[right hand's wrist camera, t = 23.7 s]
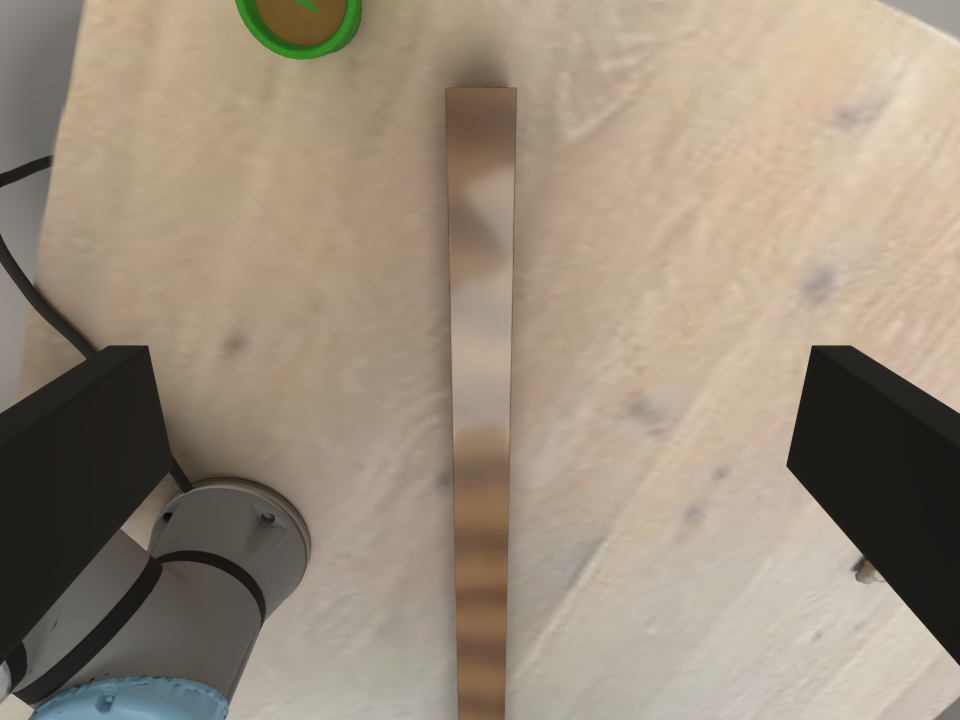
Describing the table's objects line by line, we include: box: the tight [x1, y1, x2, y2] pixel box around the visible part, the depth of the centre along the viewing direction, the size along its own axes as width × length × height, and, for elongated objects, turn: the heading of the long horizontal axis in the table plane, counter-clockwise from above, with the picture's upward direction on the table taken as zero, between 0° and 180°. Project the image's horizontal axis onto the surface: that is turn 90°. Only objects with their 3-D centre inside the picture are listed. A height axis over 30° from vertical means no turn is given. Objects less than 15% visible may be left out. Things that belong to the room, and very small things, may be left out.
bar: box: [446, 88, 517, 720], centre depth 57 cm, size 72×5×8 cm, turn 0°
